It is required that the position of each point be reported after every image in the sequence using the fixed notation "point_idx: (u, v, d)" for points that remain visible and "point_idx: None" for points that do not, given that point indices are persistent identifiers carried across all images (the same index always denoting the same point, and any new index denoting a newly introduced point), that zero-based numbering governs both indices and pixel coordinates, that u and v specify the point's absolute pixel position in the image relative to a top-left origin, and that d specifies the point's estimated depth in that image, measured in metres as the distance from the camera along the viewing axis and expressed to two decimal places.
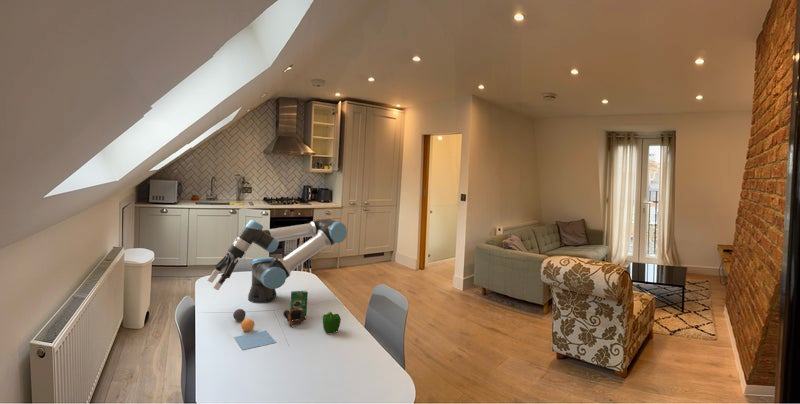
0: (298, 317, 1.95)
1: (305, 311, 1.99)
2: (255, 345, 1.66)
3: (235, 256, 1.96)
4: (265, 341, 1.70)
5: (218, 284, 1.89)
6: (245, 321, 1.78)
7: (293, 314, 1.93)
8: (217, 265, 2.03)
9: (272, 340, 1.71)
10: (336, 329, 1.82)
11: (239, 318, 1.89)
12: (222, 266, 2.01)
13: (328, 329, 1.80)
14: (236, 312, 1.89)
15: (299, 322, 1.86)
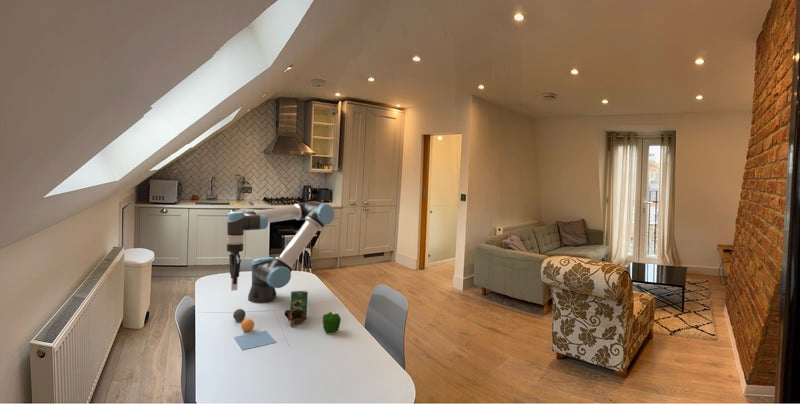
0: (299, 317, 1.95)
1: (305, 311, 1.99)
2: (255, 345, 1.66)
3: (236, 252, 1.93)
4: (265, 341, 1.70)
5: (234, 285, 1.97)
6: (245, 321, 1.78)
7: (294, 314, 1.94)
8: None
9: (272, 340, 1.71)
10: (336, 329, 1.82)
11: (239, 318, 1.89)
12: None
13: (328, 329, 1.80)
14: (236, 312, 1.89)
15: (300, 322, 1.87)
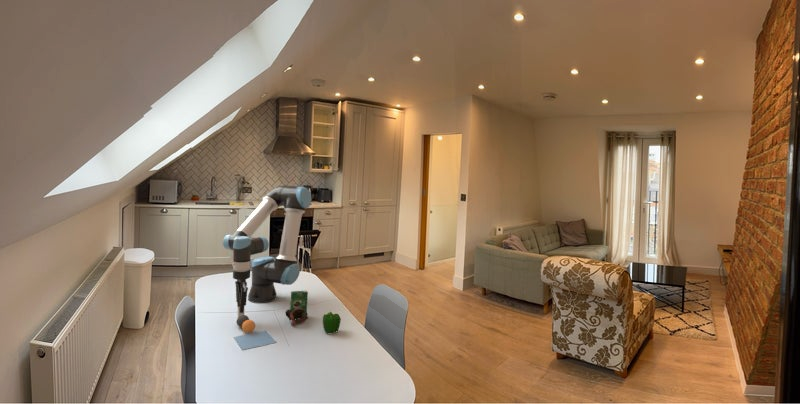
0: (300, 316, 1.96)
1: None
2: (255, 345, 1.66)
3: (243, 280, 1.84)
4: (265, 341, 1.70)
5: (240, 314, 1.88)
6: (247, 324, 1.76)
7: (295, 313, 1.94)
8: None
9: (272, 340, 1.71)
10: (336, 329, 1.82)
11: None
12: None
13: (328, 329, 1.80)
14: None
15: (301, 321, 1.87)
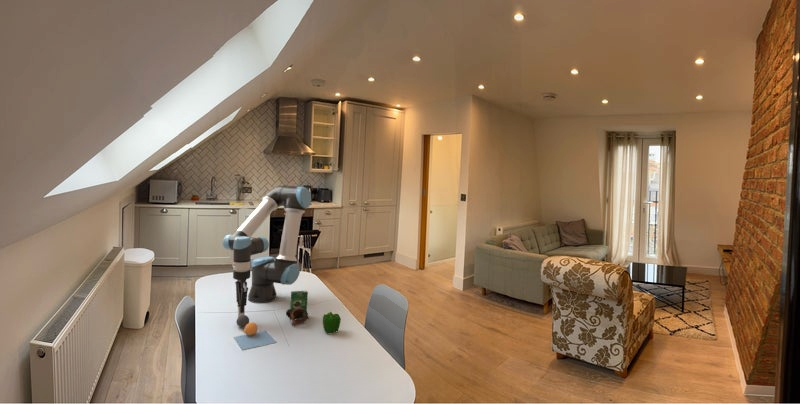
0: (300, 316, 1.96)
1: None
2: (255, 345, 1.66)
3: (243, 280, 1.84)
4: (265, 341, 1.70)
5: (241, 314, 1.88)
6: (249, 334, 1.74)
7: (296, 313, 1.95)
8: (237, 299, 1.90)
9: (272, 340, 1.71)
10: (336, 329, 1.82)
11: None
12: None
13: (328, 329, 1.80)
14: None
15: (302, 321, 1.88)
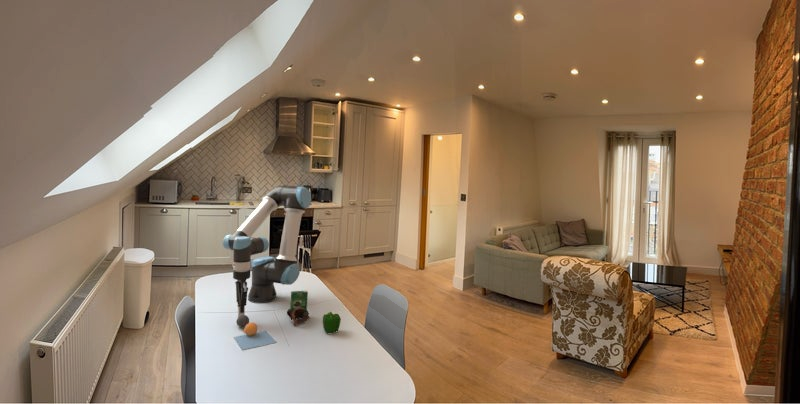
0: (301, 316, 1.97)
1: None
2: (255, 345, 1.66)
3: (243, 280, 1.84)
4: (265, 341, 1.70)
5: (241, 314, 1.88)
6: (249, 334, 1.74)
7: (296, 313, 1.95)
8: (237, 299, 1.90)
9: (272, 340, 1.71)
10: (336, 329, 1.82)
11: None
12: None
13: (328, 329, 1.80)
14: None
15: (303, 321, 1.88)
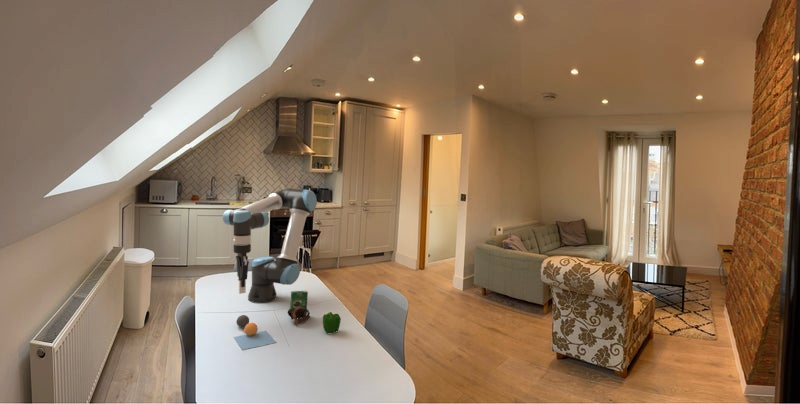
0: (302, 315, 1.97)
1: (305, 311, 1.99)
2: (255, 345, 1.66)
3: (243, 254, 1.83)
4: (265, 341, 1.70)
5: (242, 288, 1.87)
6: (249, 334, 1.74)
7: (297, 313, 1.95)
8: None
9: (272, 340, 1.71)
10: (336, 329, 1.82)
11: None
12: None
13: (328, 329, 1.80)
14: None
15: (304, 320, 1.89)
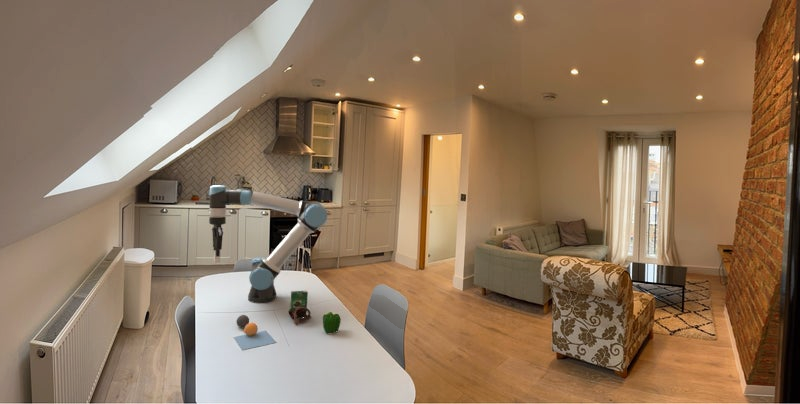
0: (303, 315, 1.97)
1: None
2: (255, 345, 1.66)
3: (218, 225, 1.98)
4: (265, 341, 1.70)
5: (217, 257, 2.01)
6: (249, 334, 1.74)
7: (298, 312, 1.96)
8: None
9: (272, 340, 1.71)
10: (336, 329, 1.82)
11: None
12: None
13: (328, 329, 1.80)
14: None
15: (305, 320, 1.89)
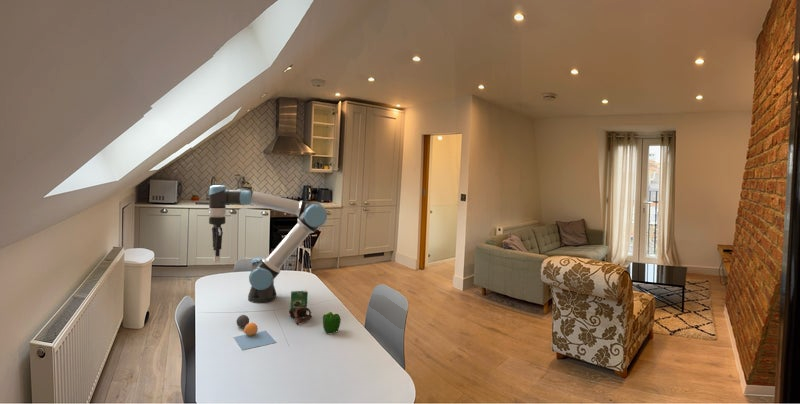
0: (303, 315, 1.98)
1: None
2: (255, 345, 1.66)
3: (218, 225, 1.98)
4: (265, 341, 1.70)
5: (216, 257, 2.02)
6: (249, 334, 1.74)
7: (299, 312, 1.96)
8: (213, 244, 2.03)
9: (272, 340, 1.71)
10: (336, 329, 1.82)
11: None
12: None
13: (328, 329, 1.80)
14: None
15: (306, 320, 1.90)
